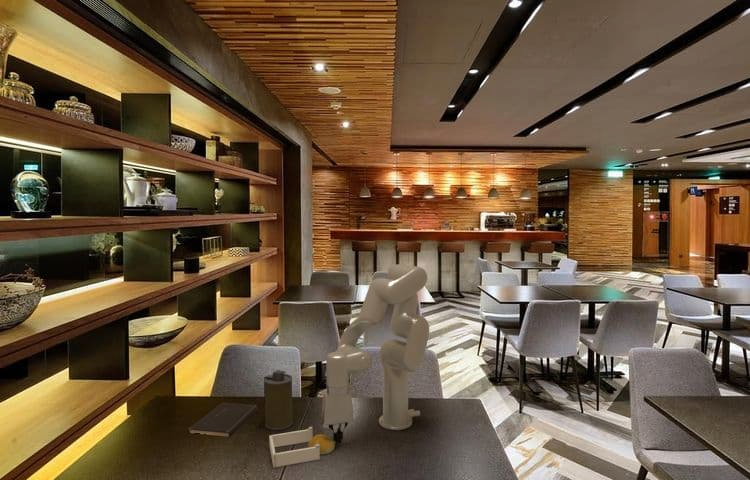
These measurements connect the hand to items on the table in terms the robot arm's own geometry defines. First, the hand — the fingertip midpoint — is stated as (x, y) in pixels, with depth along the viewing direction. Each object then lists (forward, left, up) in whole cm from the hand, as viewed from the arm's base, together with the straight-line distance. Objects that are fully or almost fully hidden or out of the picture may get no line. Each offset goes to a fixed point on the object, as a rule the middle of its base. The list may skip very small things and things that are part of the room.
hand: (338, 441), depth 149 cm
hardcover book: (+37, -32, -2) cm, 49 cm away
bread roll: (+6, 0, -2) cm, 6 cm away
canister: (+17, -23, -1) cm, 29 cm away
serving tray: (+15, 0, -1) cm, 15 cm away
